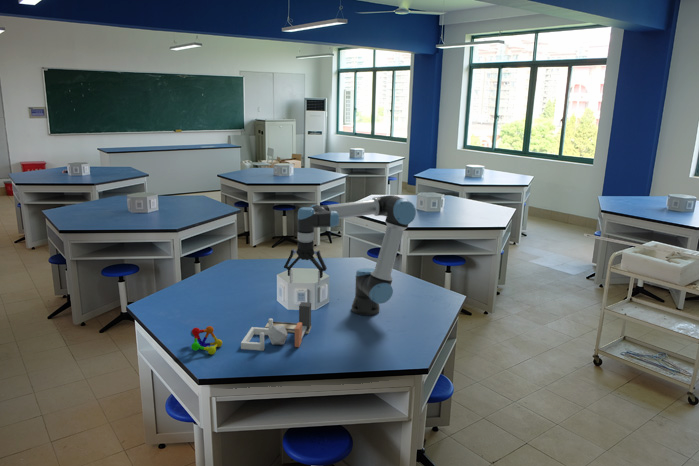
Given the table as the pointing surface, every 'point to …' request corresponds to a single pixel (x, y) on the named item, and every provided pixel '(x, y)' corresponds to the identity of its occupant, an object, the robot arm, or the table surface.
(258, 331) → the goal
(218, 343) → the molecular model
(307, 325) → the rod
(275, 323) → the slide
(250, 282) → the table surface
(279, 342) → the die
